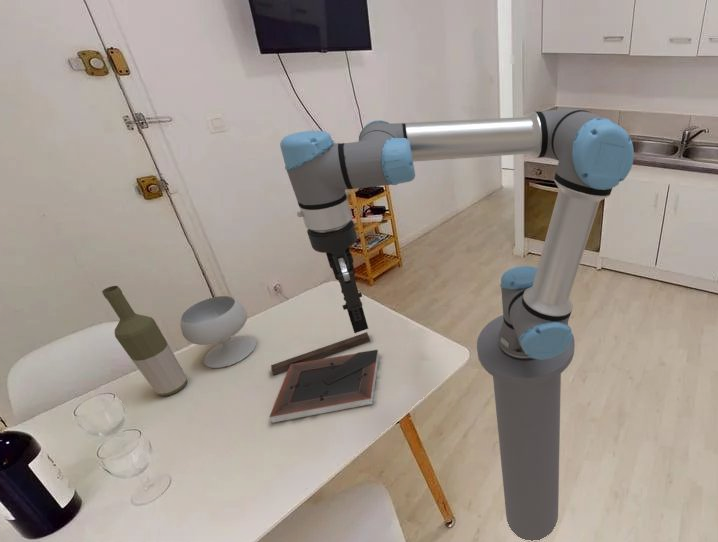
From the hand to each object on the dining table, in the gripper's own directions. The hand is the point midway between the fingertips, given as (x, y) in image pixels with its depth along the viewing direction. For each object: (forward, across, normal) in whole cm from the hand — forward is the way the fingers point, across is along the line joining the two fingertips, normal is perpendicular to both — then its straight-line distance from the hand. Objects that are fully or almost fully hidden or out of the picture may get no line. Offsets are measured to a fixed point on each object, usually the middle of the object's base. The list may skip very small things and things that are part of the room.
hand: (360, 328), depth 82 cm
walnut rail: (+24, -27, -10) cm, 38 cm away
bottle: (+25, -35, -44) cm, 61 cm away
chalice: (+25, -42, -32) cm, 58 cm away
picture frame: (+25, -14, -10) cm, 30 cm away
